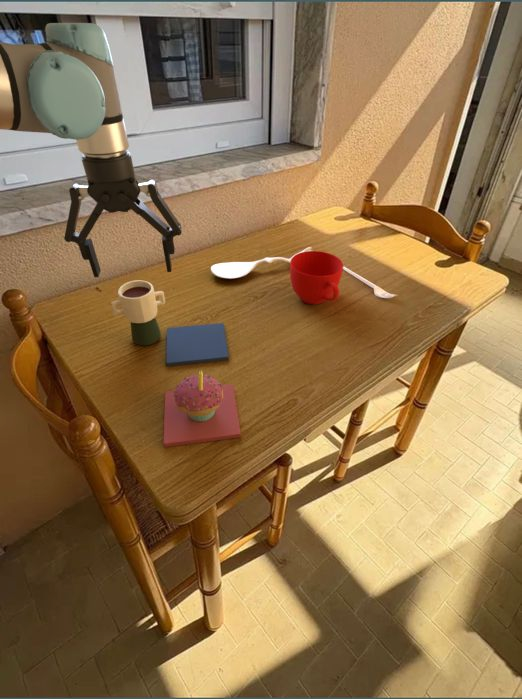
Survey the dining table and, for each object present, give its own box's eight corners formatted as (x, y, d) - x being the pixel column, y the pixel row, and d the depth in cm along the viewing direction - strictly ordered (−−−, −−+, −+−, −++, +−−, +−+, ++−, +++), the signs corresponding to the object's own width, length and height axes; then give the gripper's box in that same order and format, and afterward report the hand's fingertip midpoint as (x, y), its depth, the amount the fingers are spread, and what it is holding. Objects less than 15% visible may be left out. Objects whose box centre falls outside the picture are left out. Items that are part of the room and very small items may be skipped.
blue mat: (166, 366, 79) (165, 363, 78) (167, 331, 88) (167, 327, 87) (228, 360, 81) (228, 356, 80) (223, 326, 90) (223, 322, 89)
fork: (346, 267, 112) (347, 261, 110) (397, 300, 99) (399, 294, 98) (337, 270, 110) (338, 264, 109) (388, 304, 98) (390, 297, 96)
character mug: (166, 323, 90) (157, 275, 82) (175, 341, 85) (166, 291, 77) (119, 335, 86) (105, 286, 78) (125, 354, 82) (110, 304, 73)
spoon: (322, 269, 111) (324, 258, 109) (215, 286, 103) (214, 274, 101) (310, 255, 117) (311, 245, 115) (208, 270, 109) (207, 259, 107)
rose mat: (164, 447, 64) (163, 443, 63) (165, 394, 73) (165, 391, 72) (240, 437, 66) (240, 433, 65) (233, 387, 75) (232, 383, 74)
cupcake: (233, 414, 68) (231, 365, 61) (193, 439, 64) (185, 390, 56) (207, 387, 73) (202, 339, 66) (168, 408, 69) (157, 360, 61)
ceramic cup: (308, 325, 90) (313, 289, 84) (279, 289, 102) (281, 255, 96) (355, 314, 94) (363, 278, 88) (322, 280, 106) (326, 247, 99)
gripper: (185, 143, 64) (197, 257, 78) (28, 148, 61) (70, 266, 75) (185, 155, 59) (199, 276, 73) (13, 161, 56) (62, 286, 70)
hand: (134, 271), depth 74 cm, fingers open, 13 cm apart
